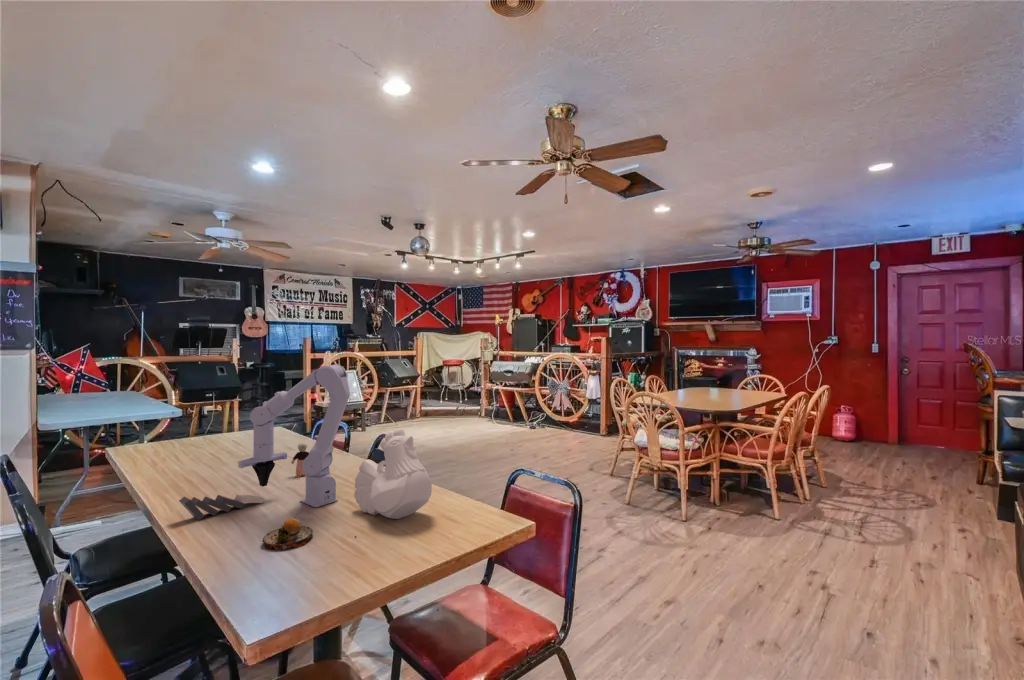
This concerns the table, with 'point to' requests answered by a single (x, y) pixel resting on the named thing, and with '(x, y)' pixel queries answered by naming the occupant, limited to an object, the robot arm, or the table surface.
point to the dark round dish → (288, 536)
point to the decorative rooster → (393, 480)
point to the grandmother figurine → (300, 459)
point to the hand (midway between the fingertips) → (263, 485)
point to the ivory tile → (249, 498)
